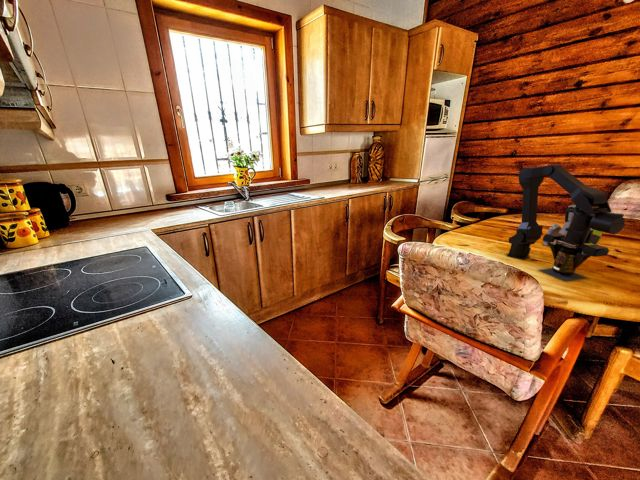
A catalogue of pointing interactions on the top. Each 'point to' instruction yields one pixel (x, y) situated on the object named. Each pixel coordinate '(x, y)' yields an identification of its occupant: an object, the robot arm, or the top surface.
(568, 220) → the coffeepot
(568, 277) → the mat
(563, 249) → the supplement container
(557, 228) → the flask
